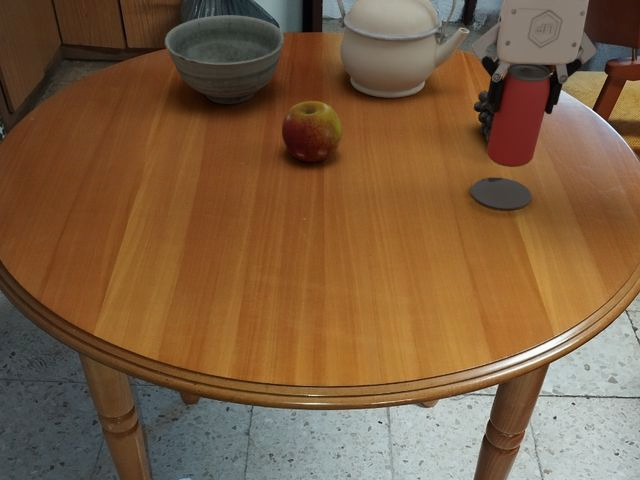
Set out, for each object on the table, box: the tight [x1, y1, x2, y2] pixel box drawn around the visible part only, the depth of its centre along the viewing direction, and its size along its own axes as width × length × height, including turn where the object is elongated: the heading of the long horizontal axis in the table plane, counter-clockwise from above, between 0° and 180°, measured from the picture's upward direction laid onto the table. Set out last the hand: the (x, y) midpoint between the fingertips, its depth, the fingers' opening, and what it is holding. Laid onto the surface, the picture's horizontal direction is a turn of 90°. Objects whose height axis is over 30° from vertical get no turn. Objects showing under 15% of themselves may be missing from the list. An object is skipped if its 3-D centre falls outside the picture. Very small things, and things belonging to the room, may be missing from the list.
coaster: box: [470, 177, 532, 211], centre depth 102 cm, size 9×9×1 cm
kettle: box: [336, 0, 470, 99], centre depth 120 cm, size 25×18×25 cm
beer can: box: [486, 64, 551, 168], centre depth 93 cm, size 7×7×12 cm
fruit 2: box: [473, 90, 495, 143], centre depth 111 cm, size 9×8×15 cm
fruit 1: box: [281, 100, 343, 163], centre depth 107 cm, size 10×9×8 cm
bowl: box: [164, 14, 285, 105], centre depth 121 cm, size 21×21×10 cm
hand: (520, 108), depth 92 cm, fingers closed on beer can, 6 cm apart
